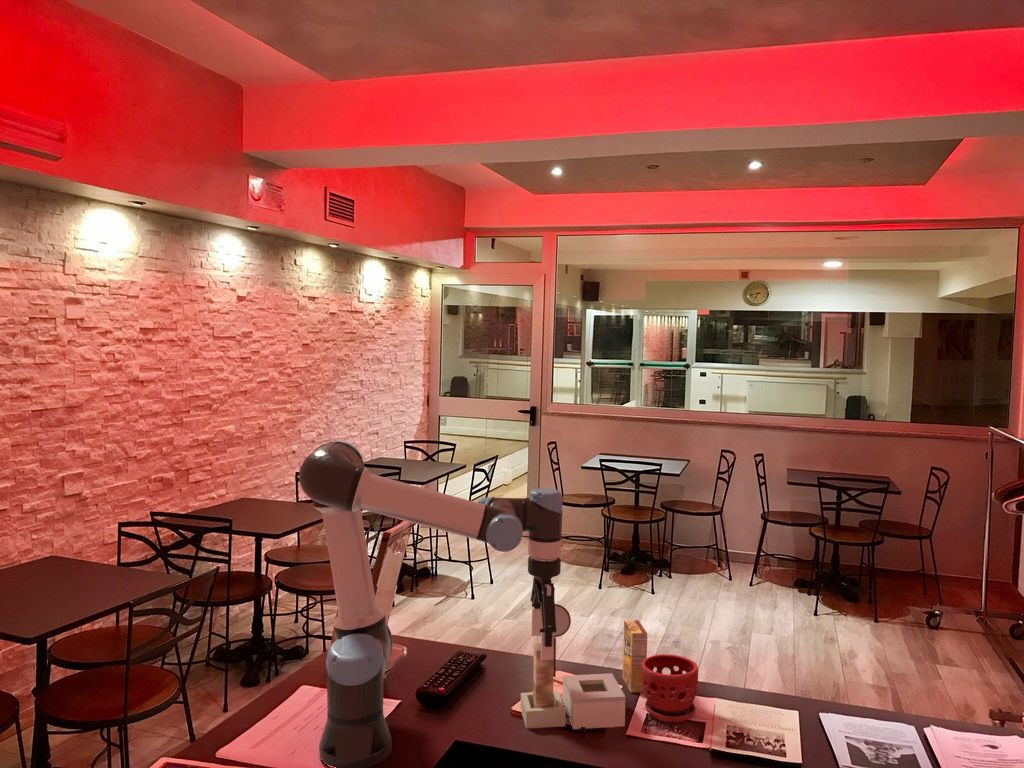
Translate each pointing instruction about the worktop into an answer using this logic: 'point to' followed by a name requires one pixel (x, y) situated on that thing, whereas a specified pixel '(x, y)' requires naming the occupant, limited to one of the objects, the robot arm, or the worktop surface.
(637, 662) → the candy box
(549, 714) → the cream square open box
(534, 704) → the wooden square peg
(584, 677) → the white box with opening
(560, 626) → the magnifying glass
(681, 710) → the plant pot
